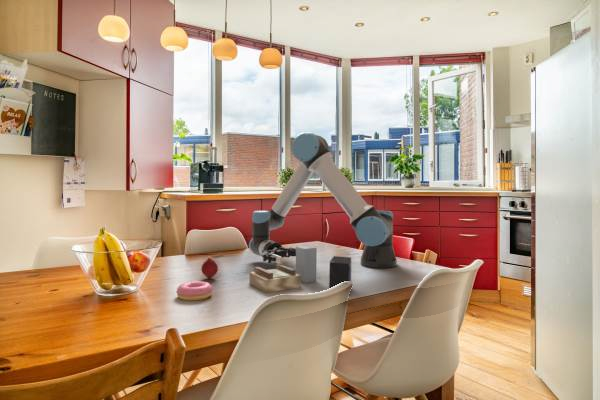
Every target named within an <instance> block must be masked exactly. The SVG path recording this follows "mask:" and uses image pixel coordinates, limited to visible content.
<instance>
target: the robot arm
mask: <svg viewBox="0 0 600 400" xmlns="http://www.w3.org/2000/svg"><path fill="white" fill-rule="evenodd" d="M291 152H292V155H293V157H294V158H295V159H296V160H298V161H299V164H298V165H297V166H296V168H295V170H294V172H293V173H292V175H291V176H290V177H289V178H290V179H288V181H287V182H286V184H285V186H284V187H283V189H282V190H281V192H280V194H279V195H278V198H277V199H276V200H275V202H274V203H273V205H272V206H271V208H270V210H254V211H253V212H252V219H251V222H252V223H251V224H252V228H251V230H252V237H251V239H250V240H249V243H248V249H249V250H250V252H252V253H253V254H255V255H257V256H259V257H260V256H261V257H262V262H267V261H268V264H271V263H276V264H281V265H283V258H290V257H296V247H283V245H282V244H281V243H279V242H276V241H275V240H270V239H271V238H270V237H271V235H270V234H271V231H272V230H278V229H279V228H281V227H283V225H284V223H285V218H286V216H287V214H289V211H290V210H291V208H292V207H293V205H294V204H295V202H296V201H297V200H298V198H299V196H300V194H301V193H302V191H304V188H305V186H306V185H307V184H308V182H309V181H310V179H311V177H312V176H313V175H314V173H315V174H316V175H317V177H318V178H319V180H320V181H321V183H323V185H324V186H325V188H327V190H328V191H329V193H330V194H331V195H332V196H333V197H334V199H335V200H336V202H337V203H338V204H339V205H340V206H341V208H342V210H343V211H344V212H345V213H346V214H347V216H348V217H349V224H350V226H351V227H352V229H354V231H355V235H356V237H357V240H358V241H359V242H360V243H361V244H363V245H364V248H363V251H362V253H361V257H360V265H362V266H363V267H367V268H373V269H376V268H377V269H389V268H391V269H392V268H394V267H395V268H396V267H397V264H398V261H397V260H398V259H397V256H396V254H395V250H394V246H393V245H394V241H393V240H394V239H393V237H394V213H393V212H392V211H391V210H382V209H381V210H379V209H376V207H375V206H374V205H370V204H368V203H367V202H366V201H365V199H364V198H363V197H362V196H361V194H360V193H359V192H358V191H357V189H356V188H355V187H354V186H353V185H352V183H351V182H350V181H349V180H348V178H347V177H346V176H345V175H344V173H343V172H342V171H341V169H340V168H339V167H338V166H337V164H336V162H334V160H333V159H332V152H331V150H329V143H328V142H327V140H326V139H325V138H324V137H322V136H321V135H317V134H315V133H313V132H307V131H306V132H301V133H299V134H298V135H296V136H295V138H294V140H293V141H292V144H291Z"/></svg>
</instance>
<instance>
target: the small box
mask: <svg viewBox="0 0 600 400" xmlns="http://www.w3.org/2000/svg"><path fill="white" fill-rule="evenodd" d="M328 270H329V271H328V272H329V274H328V276H329V279H328V281H329V282H328V285H329V286H328V289H329V288H331V287H333V286H335V285H337V284H339V283H341V282H344V281H351V282H352V257H348V256H336V255H334V256H333V257H332V258H331V260H330V261H329V269H328Z"/></svg>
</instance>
